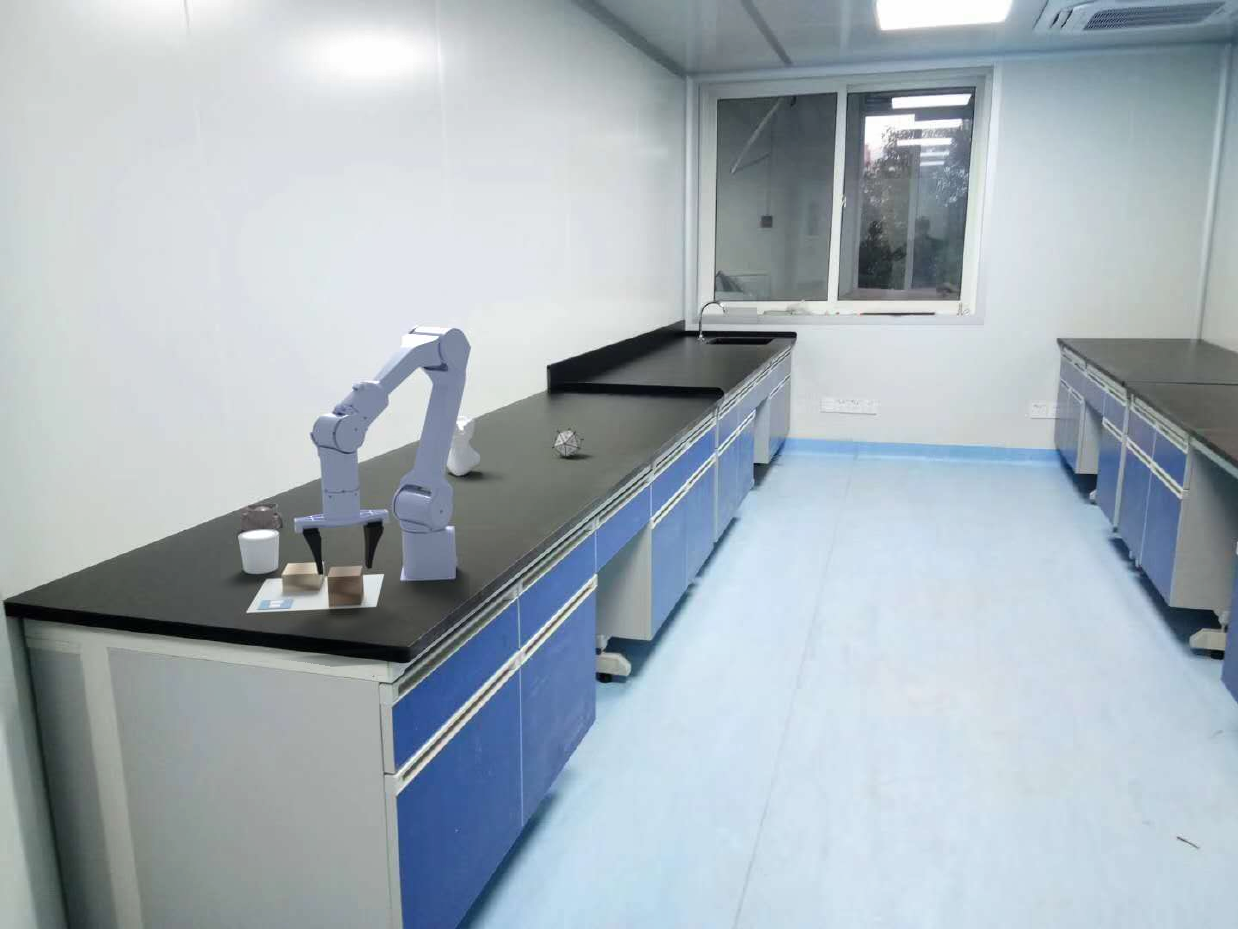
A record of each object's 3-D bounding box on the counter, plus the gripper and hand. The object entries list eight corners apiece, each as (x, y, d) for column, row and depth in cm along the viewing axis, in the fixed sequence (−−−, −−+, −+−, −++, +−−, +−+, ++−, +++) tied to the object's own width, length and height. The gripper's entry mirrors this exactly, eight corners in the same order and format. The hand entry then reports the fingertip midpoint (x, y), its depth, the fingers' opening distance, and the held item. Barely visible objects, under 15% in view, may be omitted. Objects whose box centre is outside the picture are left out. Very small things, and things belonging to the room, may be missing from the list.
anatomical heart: (483, 471, 251) (482, 414, 248) (472, 480, 240) (471, 422, 237) (447, 469, 252) (445, 413, 249) (435, 479, 241) (433, 421, 238)
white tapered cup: (286, 565, 175) (284, 528, 173) (274, 577, 168) (272, 539, 166) (248, 565, 174) (245, 528, 173) (235, 577, 168) (232, 539, 166)
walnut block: (363, 594, 159) (362, 565, 158) (360, 605, 154) (359, 575, 153) (332, 595, 158) (331, 567, 157) (328, 606, 153) (327, 577, 152)
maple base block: (324, 578, 166) (323, 562, 166) (319, 590, 160) (318, 573, 160) (289, 579, 165) (288, 563, 165) (282, 591, 159) (281, 574, 159)
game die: (574, 470, 269) (590, 445, 264) (547, 462, 266) (563, 436, 260) (571, 449, 276) (587, 425, 271) (544, 441, 272) (560, 416, 267)
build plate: (384, 576, 169) (384, 573, 169) (376, 609, 153) (376, 605, 153) (266, 581, 166) (266, 578, 166) (246, 615, 150) (245, 611, 150)
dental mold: (240, 536, 192) (238, 512, 191) (243, 526, 199) (241, 503, 198) (281, 533, 194) (280, 509, 193) (284, 524, 201) (282, 501, 200)
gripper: (381, 479, 158) (384, 557, 161) (289, 487, 152) (294, 568, 155) (390, 488, 152) (393, 569, 155) (295, 497, 146) (300, 581, 149)
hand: (344, 569), depth 155 cm, fingers open, 7 cm apart
